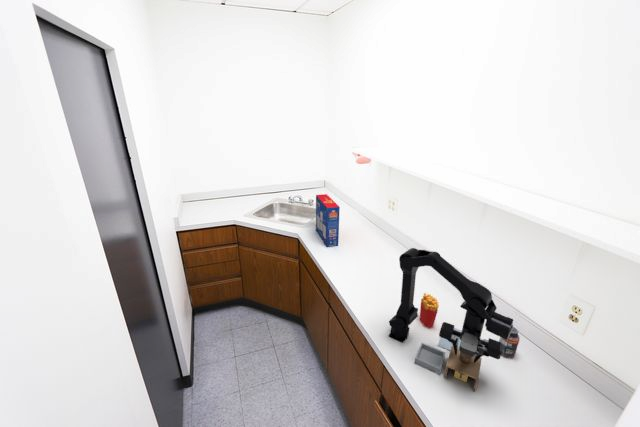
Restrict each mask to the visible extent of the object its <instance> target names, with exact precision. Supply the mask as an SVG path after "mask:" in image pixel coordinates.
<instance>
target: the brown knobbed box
mask: <svg viewBox="0 0 640 427" xmlns="http://www.w3.org/2000/svg"><path fill="white" fill-rule="evenodd" d="M474 358H475V356H474V357H472V356H470V355H467V354H465V353H462V352H460V351H459V349H458V351H457V355H455V352H454V347H453V346H452V347H451V350H450V351H449V355H448V358H447V361H446V364H445V368H444V369H445V371H444V375H443V378H444V379H446V378H447V374H448V370H449V369H450V370H453V371H455V370H456V371H458V372H460V373H463V374H465V375H467V376H468V378H469V377H470V378H472V379H474V384H473V388H472V392H476V389H477V386H478V383H479V382H478V381H479V380H480V379H479V378H480V373H481V364H482V360H483V359H482V357H480V358H479V359H478V360H477V361H476V362H475V363H474Z"/></svg>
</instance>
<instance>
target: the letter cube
mask: <svg viewBox="0 0 640 427" xmlns="http://www.w3.org/2000/svg"><path fill="white" fill-rule="evenodd" d="M453 377H454V378H456V379H458V380H461V381H463V382H465V383H467V380H468V378H469V376H467V375H465V374H463V373H460V372H458V371H456V370H454V375H453Z"/></svg>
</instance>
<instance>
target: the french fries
mask: <svg viewBox="0 0 640 427" xmlns="http://www.w3.org/2000/svg"><path fill="white" fill-rule="evenodd" d="M438 308H439V302H438V299H437V298H436V297H434V296H433V295H431V294H428V293H426V292H424V293H423V295H422V298H421V300H420V311H419V321H420V323H421V324H422V325H423V326H424V327H426V328H428V329H431V328H433V327H434V325H435V322H436V321H435V320H436V317H437V316H438V315H437V314H438V311H439V310H438Z"/></svg>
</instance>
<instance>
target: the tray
mask: <svg viewBox="0 0 640 427" xmlns="http://www.w3.org/2000/svg"><path fill="white" fill-rule="evenodd" d="M416 352H417V353H416V355H415V357H414V363H413V364H414V365H417V366H419V367H422V368H424V369H426V370H428V371H430V372H432V373H435V374H437V375H440V374H441V370H442V367H443V364H444V360H445V358H446V357H445V356H446V353H447V352H446V351H443V350H441V349H439V348H436V347H434V346H431V345H430V344H429V345H428V344H427V343H424V342H421V343H420V345H419V347H418V350H417V351H416Z"/></svg>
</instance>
